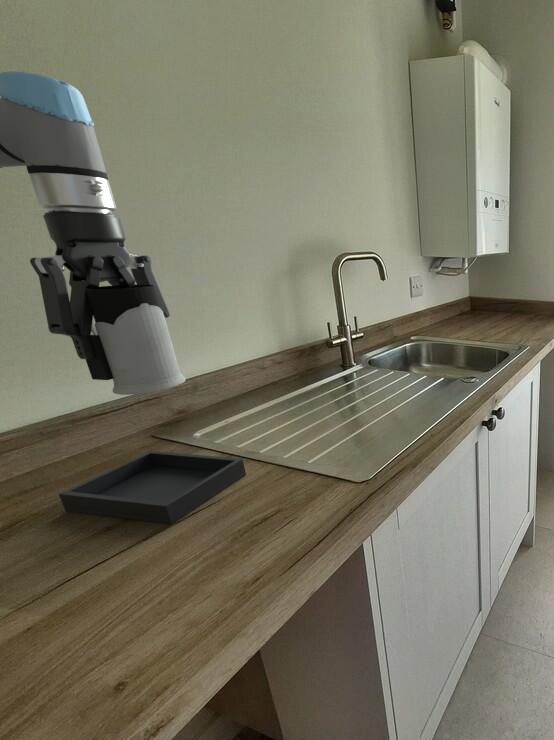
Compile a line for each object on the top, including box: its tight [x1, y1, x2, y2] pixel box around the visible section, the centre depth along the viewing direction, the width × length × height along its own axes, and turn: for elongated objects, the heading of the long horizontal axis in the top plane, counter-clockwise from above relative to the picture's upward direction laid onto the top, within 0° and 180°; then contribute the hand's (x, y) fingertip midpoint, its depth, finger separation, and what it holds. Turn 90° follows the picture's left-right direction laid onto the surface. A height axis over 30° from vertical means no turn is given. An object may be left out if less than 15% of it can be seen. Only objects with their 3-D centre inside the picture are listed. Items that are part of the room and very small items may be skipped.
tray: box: [58, 450, 247, 525], centre depth 65 cm, size 19×14×3 cm
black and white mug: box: [85, 284, 187, 396], centre depth 62 cm, size 9×14×15 cm, turn 73°
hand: (131, 370), depth 63 cm, fingers closed on black and white mug, 7 cm apart
